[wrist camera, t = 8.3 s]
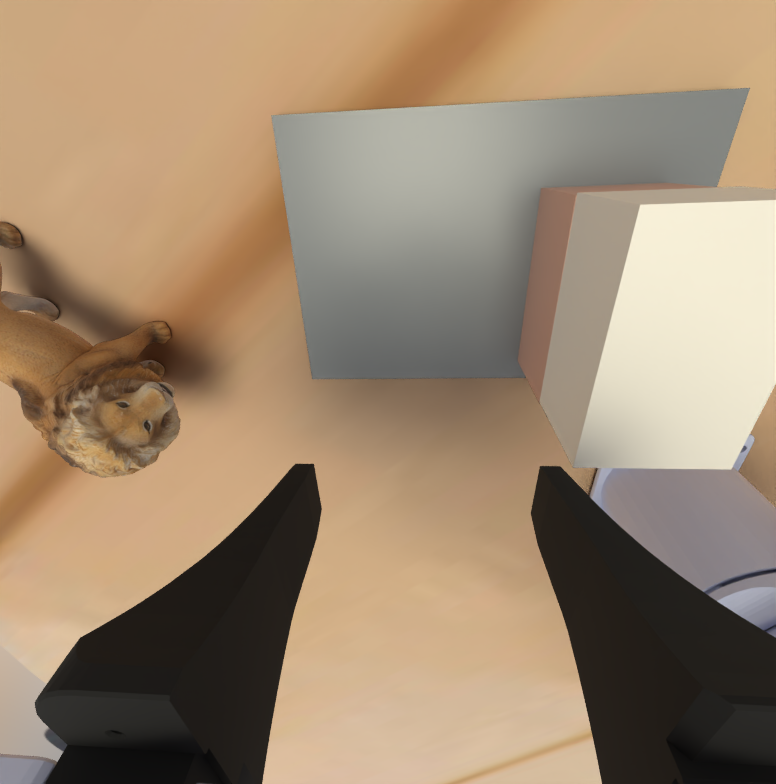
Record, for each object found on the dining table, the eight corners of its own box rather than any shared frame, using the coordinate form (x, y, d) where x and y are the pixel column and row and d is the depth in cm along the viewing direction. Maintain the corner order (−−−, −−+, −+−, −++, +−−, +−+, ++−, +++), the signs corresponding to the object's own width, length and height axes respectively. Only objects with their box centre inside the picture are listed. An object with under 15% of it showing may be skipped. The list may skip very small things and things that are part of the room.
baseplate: (643, 368, 21) (653, 376, 20) (316, 370, 23) (312, 378, 22) (731, 91, 15) (749, 88, 14) (278, 117, 17) (271, 115, 16)
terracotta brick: (617, 359, 20) (661, 403, 17) (517, 360, 21) (539, 403, 17) (666, 182, 16) (738, 188, 13) (541, 187, 17) (576, 195, 13)
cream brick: (662, 402, 16) (731, 469, 13) (539, 401, 17) (572, 467, 13) (740, 186, 12) (872, 196, 9) (577, 192, 13) (640, 204, 9)
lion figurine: (244, 341, 22) (151, 438, 14) (215, 409, 25) (123, 522, 17) (-41, 193, 19) (-355, 215, 11) (-41, 287, 22) (-298, 358, 14)
